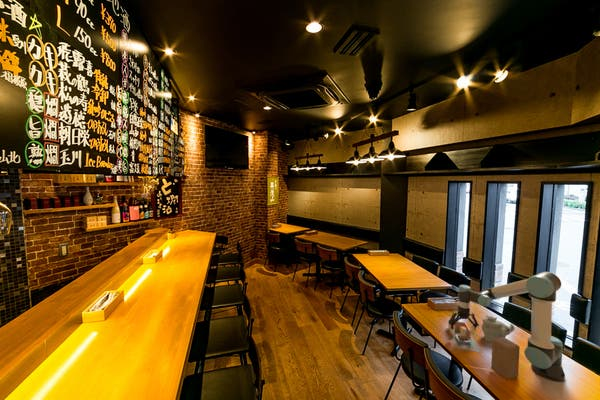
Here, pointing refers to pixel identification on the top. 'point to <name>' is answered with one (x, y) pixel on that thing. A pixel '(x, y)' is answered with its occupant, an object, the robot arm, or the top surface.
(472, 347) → the board
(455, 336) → the socket
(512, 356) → the wooden block
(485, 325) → the teapot
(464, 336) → the peg
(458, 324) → the housing
